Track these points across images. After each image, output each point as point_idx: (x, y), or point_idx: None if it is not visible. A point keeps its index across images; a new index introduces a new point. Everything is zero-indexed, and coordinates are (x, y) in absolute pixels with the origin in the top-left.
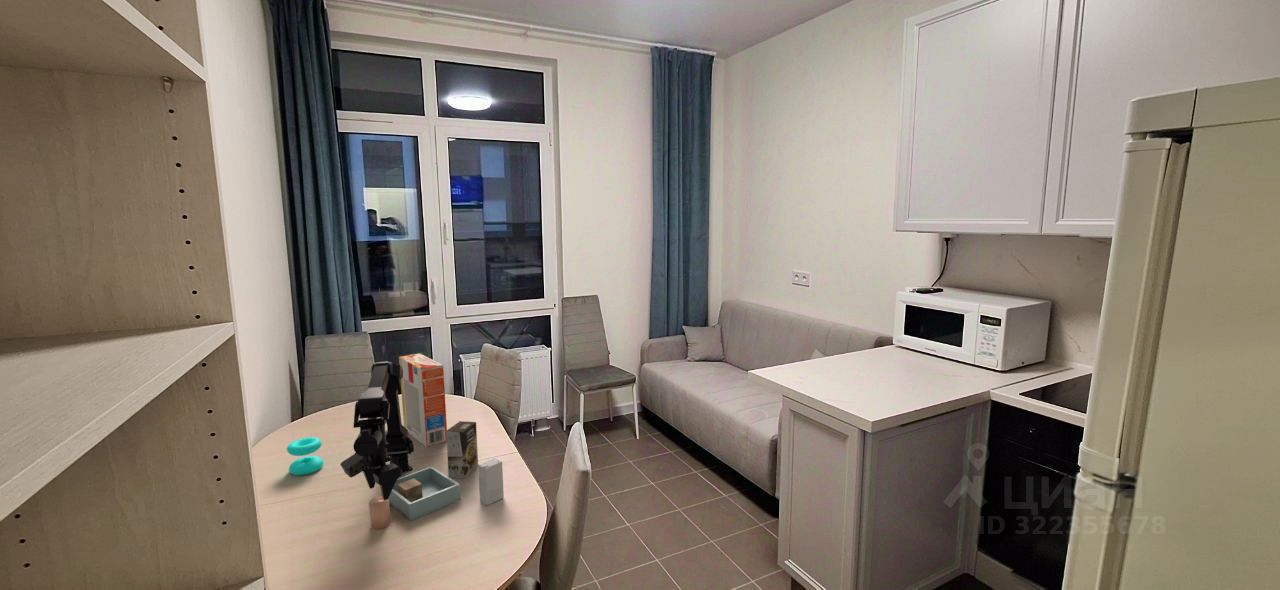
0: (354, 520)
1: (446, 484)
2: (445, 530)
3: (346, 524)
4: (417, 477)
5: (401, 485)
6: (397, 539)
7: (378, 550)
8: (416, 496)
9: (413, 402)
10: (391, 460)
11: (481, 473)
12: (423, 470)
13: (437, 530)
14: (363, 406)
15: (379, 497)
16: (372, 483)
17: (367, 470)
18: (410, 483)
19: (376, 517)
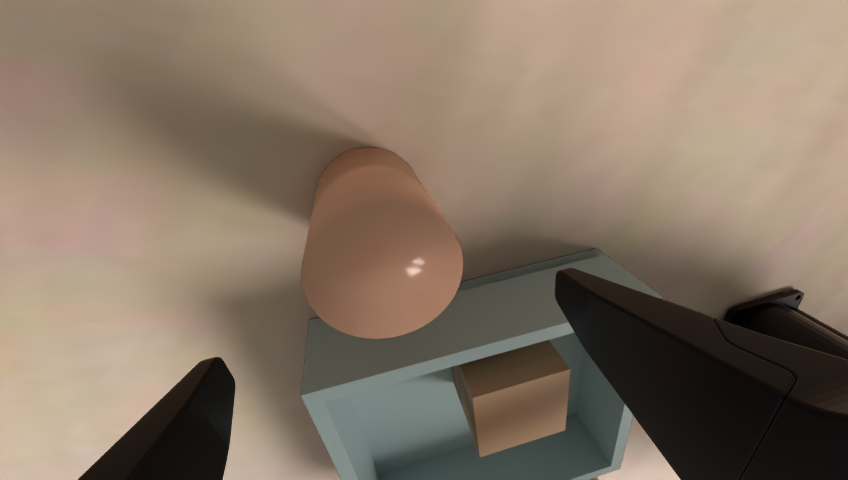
0: (512, 76)
1: (463, 477)
2: (129, 426)
3: (501, 19)
4: (602, 406)
5: (543, 383)
6: (133, 245)
7: (21, 126)
8: (458, 384)
9: None
10: (824, 345)
11: None
12: (615, 446)
13: (146, 401)
14: None
15: (441, 286)
16: (585, 321)
17: (805, 459)
18: (526, 418)
19: (319, 199)
